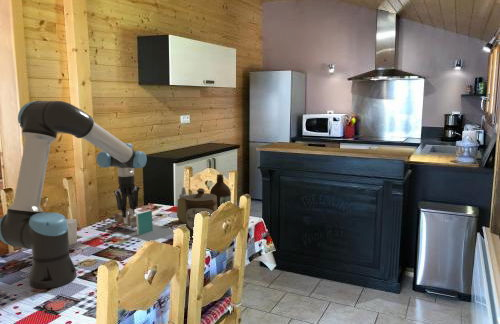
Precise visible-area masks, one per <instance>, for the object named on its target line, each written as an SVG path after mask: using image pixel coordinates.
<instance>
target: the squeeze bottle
mask: <svg viewBox="0 0 500 324" xmlns="http://www.w3.org/2000/svg"><path fill="white" fill-rule="evenodd" d="M186 190H187V189H186V187H185V186H184V187H183V186H182V188H181V193H179V195H178V196H179V198H178V199H177V204H176V205H177V207H176V217H177V220H178V222H179V223H180V224H181V223H182V224H186V203H185V197H186V196H189V195H190V194H189V193H187V191H186Z"/></svg>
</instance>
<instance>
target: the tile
mask: <svg viewBox="0 0 500 324" xmlns="http://www.w3.org/2000/svg"><path fill="white" fill-rule="evenodd" d="M135 216H136V223H137V227H136V229H137V235H141V234H144V233H147V232H150V231H153V226H152V224H153V211H152V210H151V209H148V210H145V211H142V212H141V211H140V212H138V213H135Z"/></svg>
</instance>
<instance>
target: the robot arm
mask: <svg viewBox="0 0 500 324" xmlns="http://www.w3.org/2000/svg"><path fill="white" fill-rule="evenodd" d="M17 122H18V124H19V126H20V128H21V135H22V136H23V137H24V139H25V141H24V146H23V150H22V151H23V152H22V156H21V162H20V167H19V172H18V179H17V183H16V188H15V189H16V190H15V194H14V200H13V204H11V205H10V206H8V208H7V210H6V214H3V216H2V217H1V218H0V241H1V242H2V243H3V244H6V245H8V246H10V247H14V248H21V249H28V250H31V252H32V264H31V269H30V273H29V277H28V281H29V282H28V283H29V286H30V287H32V288H35V289H41V290H42V289H53V288H54V289H55V288H57V287H62V286H64V285H67V284H69V283H71V282H73V281H74V280H75V279H76V278H77V270H76V267H75V264H74V262H73V260H72V258H71V256H70V245H69V241H68V226H67V222H66V219H67V218H66V217H65V216H64V215H63V214H61V213H60V212H59V213H58V212H54V211H53V212H52V211H50V212H48V211H44V210H43V209H42V208H41V202H42V195H43V191H44V183H45V178H46V172H47V167H48V162H49V156H50V151H51V144H52V143H53V142H55V141H56V140H57V136H58V133H60V134H68V135H71V136H73V137H75V138H77V139H83V140H85V141H87V142H88V143H90V144H91V145H93V146H95V147H96V148H97V149H99V150H101V151H100V152H98V153H97V155H96V162H97V165H98V166H99V167H101V168H103V169H104V168H105V169H106V168H109V167H110V168H112V167H113V168H117V175H118V177H117V179H118V180H117V181H118V189H117V190H114V191H113V193H114V196H115V198H116V199H115V201H116V207H117V210H118V211H121V213H122V217H123V218H124V223H125V225H128V224H129V223H128V215H132V216H135V215H136V213H135V210H136V209H137V207H139V191H140V186H136V185H135V170H137V169H142V168H144V167H146V164H147V159H148V158H147V157H148V156H147V154H146V153H145V152H144V151H140V150H134V149H133V143H130V142H123V141H122V140H121V139H119V138H118V137H116V136H115V135H113V134H111V133H110V132H109V131H108V130H106V129H105V128H104V127H102V126H101V125H99V124H98V123H96V122H95V119H94V118H93V117H92V116H91V115H89V113H87V112H85V111H84V110H83V109H80V108H79V107H77V106H75V105H74V104H71V103H69V102H66V101H62V100H35V101H30V102H27V103H25V104H23V105H22V107H21V108H20V109H19V112H18V115H17ZM127 203H128V204H129V208H128V207H127ZM127 208H128V209H127ZM124 223H123V224H124Z"/></svg>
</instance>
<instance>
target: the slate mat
mask: <svg viewBox="0 0 500 324" xmlns="http://www.w3.org/2000/svg"><path fill="white" fill-rule="evenodd" d="M152 226H153V231H150V232H147V233H144V234H141V235H137V228H134V229H132V230H130V231H129V230H128V231H126V232H123V233H122V234H123V235H125V236H129V237H132V238H137V239H140V240H142V241H146V242H149V240H154V241H156V240H160V239H162V238H165V237H167V236H170V235H174V233H173V230H174V229H173V228H169V227H164V226H161V225H158V224H154V223H152Z"/></svg>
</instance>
